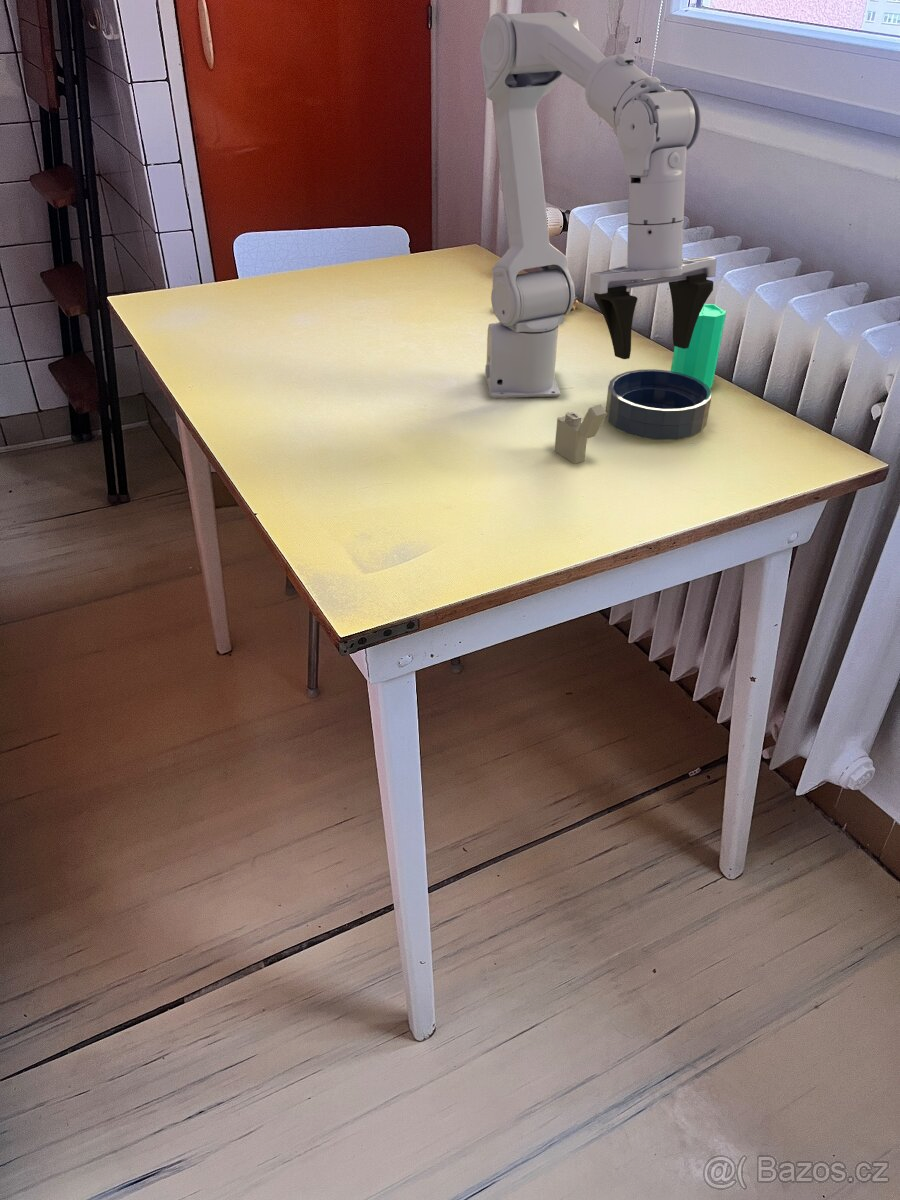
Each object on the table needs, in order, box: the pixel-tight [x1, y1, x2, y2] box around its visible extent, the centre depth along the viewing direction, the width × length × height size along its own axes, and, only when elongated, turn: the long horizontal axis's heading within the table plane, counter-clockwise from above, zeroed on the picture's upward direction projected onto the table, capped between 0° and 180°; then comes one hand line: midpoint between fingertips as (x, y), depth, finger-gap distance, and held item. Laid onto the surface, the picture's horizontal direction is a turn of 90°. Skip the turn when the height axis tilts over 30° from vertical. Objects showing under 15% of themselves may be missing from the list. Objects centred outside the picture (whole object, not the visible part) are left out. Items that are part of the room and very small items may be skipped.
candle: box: [670, 303, 727, 390], centre depth 127 cm, size 6×6×12 cm
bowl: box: [605, 368, 713, 441], centre depth 120 cm, size 13×13×4 cm
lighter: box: [554, 404, 607, 465], centre depth 110 cm, size 7×2×8 cm, turn 31°
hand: (651, 352), depth 104 cm, fingers open, 7 cm apart
